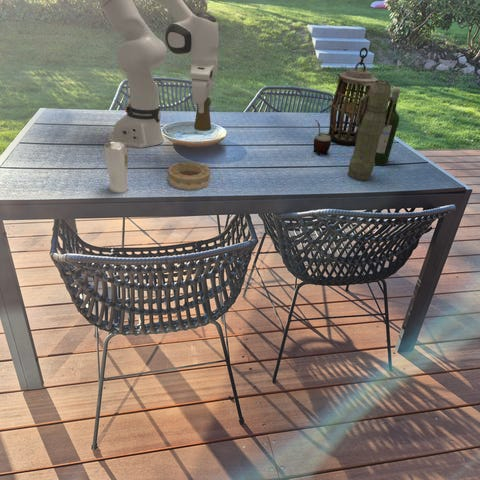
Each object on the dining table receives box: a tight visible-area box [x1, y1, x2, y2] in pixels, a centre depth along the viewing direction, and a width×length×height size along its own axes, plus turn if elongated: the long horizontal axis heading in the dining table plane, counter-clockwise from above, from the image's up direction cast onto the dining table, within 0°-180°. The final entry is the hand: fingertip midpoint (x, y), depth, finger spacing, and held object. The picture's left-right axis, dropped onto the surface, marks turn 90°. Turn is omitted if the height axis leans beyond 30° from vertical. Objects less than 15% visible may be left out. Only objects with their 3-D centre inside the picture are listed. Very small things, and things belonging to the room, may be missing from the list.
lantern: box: [327, 47, 379, 147], centre depth 189 cm, size 19×19×40 cm
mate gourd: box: [312, 119, 332, 157], centre depth 179 cm, size 8×8×15 cm
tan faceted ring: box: [167, 161, 211, 191], centre depth 150 cm, size 14×14×4 cm
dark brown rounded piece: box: [193, 96, 212, 132], centre depth 151 cm, size 6×6×11 cm
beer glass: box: [104, 141, 129, 194], centre depth 137 cm, size 7×7×15 cm
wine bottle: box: [374, 87, 401, 166], centre depth 171 cm, size 8×8×30 cm
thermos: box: [347, 80, 395, 182], centre depth 156 cm, size 9×12×35 cm
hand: (202, 110), depth 150 cm, fingers closed on dark brown rounded piece, 4 cm apart
